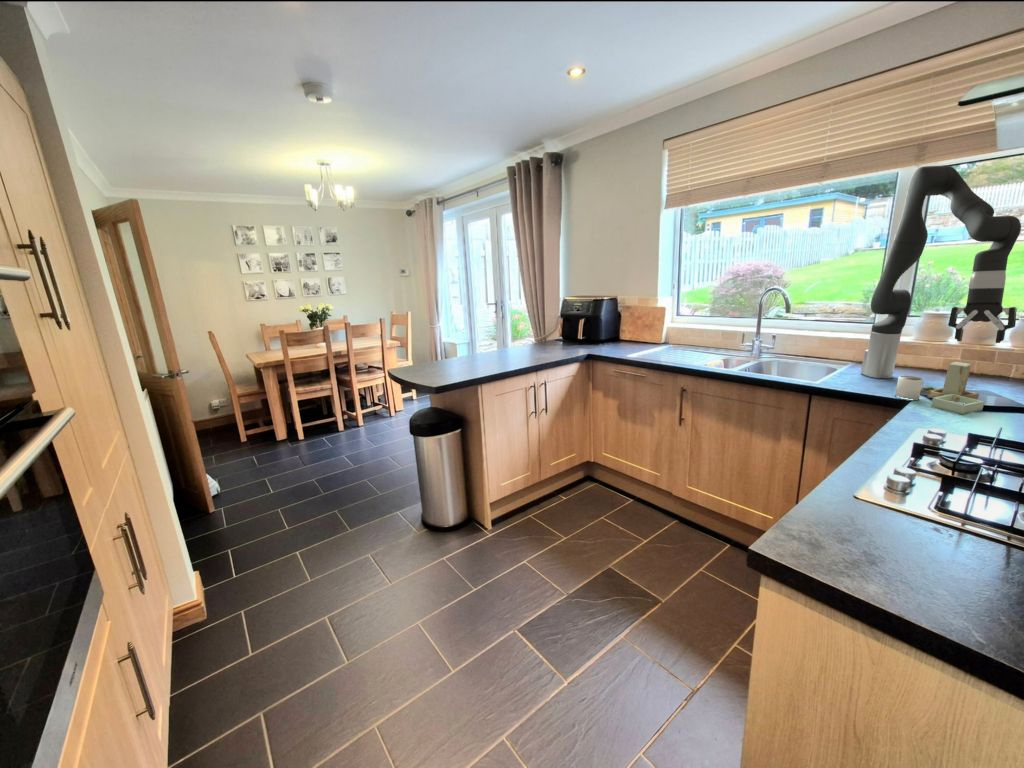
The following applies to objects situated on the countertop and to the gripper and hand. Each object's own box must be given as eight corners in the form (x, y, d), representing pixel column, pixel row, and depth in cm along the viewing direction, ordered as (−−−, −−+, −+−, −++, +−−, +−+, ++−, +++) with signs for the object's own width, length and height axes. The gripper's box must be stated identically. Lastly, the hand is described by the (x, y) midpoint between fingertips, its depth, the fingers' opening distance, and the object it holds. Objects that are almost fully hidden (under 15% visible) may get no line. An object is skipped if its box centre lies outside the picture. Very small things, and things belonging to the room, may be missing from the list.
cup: (890, 396, 164) (894, 376, 162) (902, 393, 166) (906, 374, 164) (910, 401, 158) (915, 381, 156) (923, 399, 161) (928, 378, 159)
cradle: (909, 393, 167) (910, 386, 166) (928, 389, 170) (930, 382, 170) (956, 405, 154) (958, 398, 153) (977, 401, 158) (979, 393, 157)
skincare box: (956, 403, 156) (965, 366, 153) (939, 399, 160) (948, 364, 156) (963, 399, 160) (972, 363, 156) (946, 396, 163) (955, 361, 160)
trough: (930, 406, 153) (932, 397, 153) (950, 402, 157) (952, 393, 156) (962, 415, 146) (964, 405, 145) (982, 410, 149) (984, 401, 148)
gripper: (1023, 286, 138) (1014, 342, 141) (958, 287, 150) (950, 339, 153) (1018, 286, 134) (1008, 344, 137) (951, 287, 145) (943, 341, 148)
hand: (978, 342), depth 145 cm, fingers open, 8 cm apart
